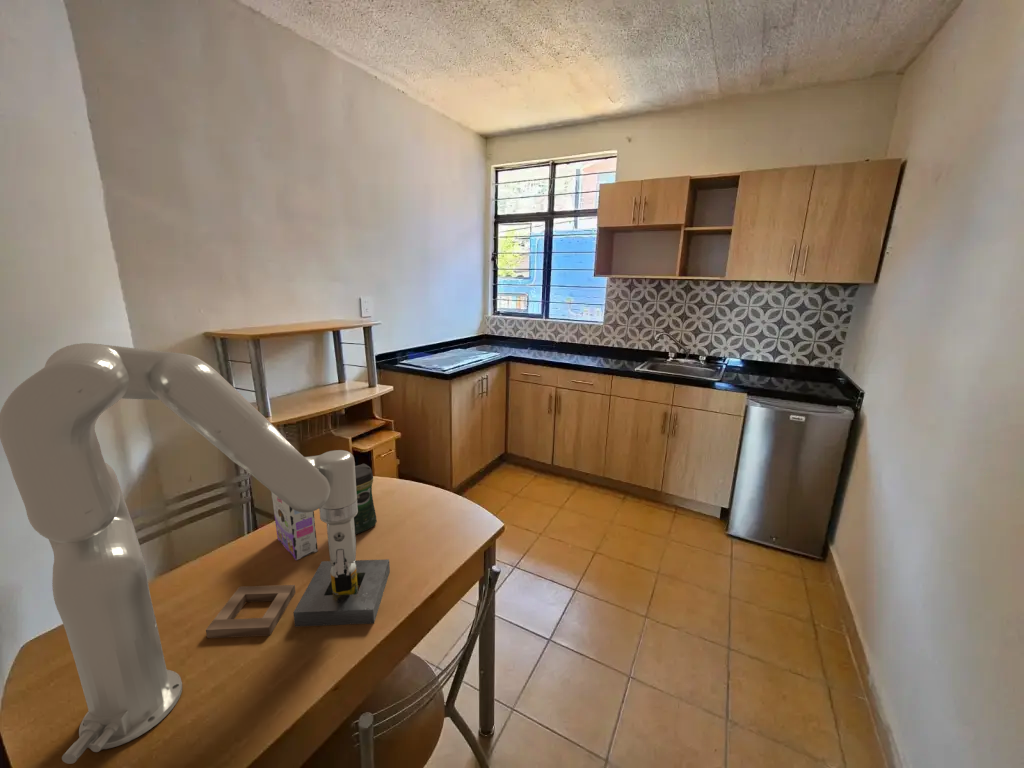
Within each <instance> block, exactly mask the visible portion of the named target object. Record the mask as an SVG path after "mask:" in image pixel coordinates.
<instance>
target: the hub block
mask: <svg viewBox="0 0 1024 768" xmlns="http://www.w3.org/2000/svg"><path fill="white" fill-rule="evenodd" d="M355 564H356V570H357V584H358V592H357V594H353V595H333V593H332V583H331V573H330V571H331V568H332V565H331V562H330V560H329V561H328V560H324V561H321V562H320V564H319V566H318V568H316V571H315V573H314V575H313V576H312V578H311V580H310V581H309V584H308V585H307V587H306V589H305V590H304V593H303V595H302V596H301V597H300V600H299V601H298V603H297V605H296V606H295V609H294V610H293V613H292V614H293V619H294V620H293V622H294V627H296V628H297V627H317V626H318V627H319V626H321V627H322V626H344V625H345V626H346V625H362V624H363V625H365V624H367V625H369V624H375V622H376V618H377V616H378V612H379V609H380V605H381V603H382V599H383V596H384V593H385V590H386V589H385V588H386V586H387V582H388V579H389V575H390V572H391V570H390V566H391V565H390V559H389V558H388V559H361V560H357V559H356V560H355ZM383 592H384V593H383Z"/></svg>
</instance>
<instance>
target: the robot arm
mask: <svg viewBox="0 0 1024 768" xmlns="http://www.w3.org/2000/svg"><path fill="white" fill-rule="evenodd" d="M121 399H122V400H123V399H125V400H126V399H127V400H129V399H130V400H150V401H151V400H152V401H153V400H154V401H156V400H157V401H161V402H162V404H164V406H165V407H166V408H168V409H169V410H170V411H172V413H174V414H175V415H177V417H179V418H180V419H181V420H182V421H183V422H185V423H186V424H187V425H189V426H190V427H191V428H192V429H194V430H195V432H197V433H198V434H200V435H201V436H202V437H204V439H206V440H207V441H208V442H209V443H210V444H211V445H213V446H215V448H217V449H218V450H219V451H220V452H221V453H222V454H224V455H225V456H226V457H227V458H228V459H229V460H231V461H232V463H234V464H236V465H238V466H239V467H240V468H241V469H243V470H244V471H246V472H247V473H248V474H250V475H251V476H252V477H253V478H255V479H256V480H257V481H258V482H260V483H261V484H262V485H263V486H264V487H265V488H267V489H268V490H269V491H270V492H271V491H272V492H273V493H274V494H275V495H276V496H278V497H279V498H280V499H281V500H282V501H284V502H285V503H286V504H287V505H288V506H290V507H291V508H292V509H294V510H295V511H298V512H303V513H306V512H313V511H314V512H315V511H317V510H318V511H319V518H320V520H321V521H322V522H324V523H325V524H326V530H327V531H326V532H327V545H328V553H329V561H330V562H331V565H332V566H333V567H334V565H335V587H336V592H342V591H347V590H351V589H352V583H351V572H349V563H354V562H355V560H357V559H356V556H357V540H356V539H357V537H356V534H355V525H354V517H355V516H356V515H357V513H358V506H357V492H356V476H355V466H356V462H355V457H354V455H353V454H352V453H351V452H350V451H348V450H343V449H338V450H336V449H334V450H329V451H326V452H324V453H322V454H319V455H310V456H304V455H303V454H301V453H300V452H299V451H298V450H297V448H295V447H294V445H292V444H291V443H290V442H289V441H288V440H287V438H285V437H284V435H283V434H281V433H280V430H278V429H277V428H276V427H275V426H274V425H273V423H272V422H270V421H269V420H268V419H267V418H266V417H265V416H264V415H263V414H262V413H261V412H260V411H259V410H258V409H257V408H256V407H255V406H254V405H252V404H251V402H250V401H249V400H248V399H246V398H245V397H244V396H243V395H242V394H241V393H240V392H239V391H238V390H237V389H236V388H235V387H234V386H232V384H231V383H229V381H228V380H226V379H225V378H224V377H223V376H222V375H221V374H220V373H219V372H218V371H217V370H216V369H214V368H213V367H212V366H211V364H208V363H207V362H205V361H204V360H202V359H201V358H199V357H197V356H194V355H192V354H188V353H182V352H181V353H180V352H172V351H161V350H152V349H144V348H143V349H142V348H136V347H135V348H134V347H128V346H127V347H126V346H118V345H117V346H116V345H109V344H101V343H88V342H87V343H86V342H85V343H83V342H82V343H75V344H70V345H66V346H64V347H61V348H60V349H58V350H56V351H55V352H53V353H52V354H51V355H50V356H49V357H48V359H47V360H46V361H45V364H44V367H43V368H41V369H40V370H37V372H35V373H33V374H32V375H31V376H29V377H28V378H26V379H25V380H24V381H22V383H20V384H19V385H18V386H17V387H16V388H14V390H13V391H12V392H11V393H10V394H9V396H8V397H7V398H6V400H5V401H4V403H3V406H2V407H1V410H0V442H1V446H2V448H3V452H4V454H5V456H6V459H7V461H8V464H9V467H10V470H11V474H12V476H13V479H14V483H15V485H16V486H17V490H18V491H19V495H20V496H21V500H22V502H23V504H24V508H25V513H26V516H27V519H28V522H29V523H30V525H31V527H32V528H33V529H34V531H36V532H37V533H38V534H39V535H40V536H42V537H43V538H46V539H48V541H49V544H50V546H51V549H52V552H53V564H52V580H51V581H52V582H51V583H52V584H51V585H52V596H53V600H54V603H55V607H56V611H57V612H58V615H59V617H60V619H61V621H62V625H63V627H64V630H65V634H66V637H67V639H68V644H69V646H70V647H69V648H70V650H71V653H72V657H73V661H74V662H75V667H76V670H77V673H78V678H79V681H80V684H81V688H82V690H83V695H84V699H85V702H86V706H87V710H88V711H87V712H86V713H85V715H84V717H83V718H82V720H81V722H80V725H79V729H78V736H79V738H78V739H76V741H74V742H73V744H72V745H70V747H69V748H67V750H66V752H64V753H63V755H62V756H61V760H62V762H63V763H65V764H67V765H69V764H71V765H72V764H74V763H76V762H77V761H78V759H79V758H80V757H81V756H82V755H83V754H84V753H85V751H86V750H87V749H90V750H91V751H92V752H94V753H99V752H100V751H102V750H108V749H112V748H115V747H119V746H121V745H124V744H126V743H130V742H131V741H133V740H135V739H137V738H138V737H140V736H143V734H144V735H145V733H147V732H149V730H151V729H152V728H153V727H155V726H157V725H158V724H159V723H160V722H161V721H162V720H163V719H165V717H166V716H168V714H169V713H170V712H171V711H172V710H173V709H174V707H175V706H176V704H177V703H178V701H179V699H180V697H181V695H182V692H183V682H182V678H181V676H180V674H179V673H177V672H176V671H173V670H170V669H167V665H166V661H165V656H164V651H163V647H162V643H161V637H160V633H159V628H158V624H157V618H156V614H155V611H154V607H153V602H152V601H153V600H152V597H151V593H150V592H151V591H150V587H149V580H148V575H147V574H148V573H147V567H146V564H145V563H146V562H145V559H144V555H143V553H142V549H141V545H140V543H139V539H138V536H137V531H136V529H135V526H134V523H133V521H132V517H131V515H130V511H129V509H128V506H127V503H126V499H125V497H124V494H123V491H122V489H121V486H120V482H119V479H118V477H117V474H116V471H115V470H114V469H113V467H112V466H111V465H109V464H108V463H107V462H106V461H105V459H104V457H103V453H102V450H101V446H100V441H99V439H98V436H97V434H96V433H97V432H96V429H95V428H96V423H97V420H98V418H100V416H101V415H102V414H103V413H104V412H105V411H107V410H108V409H110V408H111V407H112V406H114V405H115V404H117V403H118V402H119V401H120V400H121ZM344 558H346V560H344ZM345 564H346V569H344V565H345Z"/></svg>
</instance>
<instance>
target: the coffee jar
mask: <svg viewBox="0 0 1024 768" xmlns="http://www.w3.org/2000/svg"><path fill="white" fill-rule="evenodd" d="M355 476H356V492H357V506H358V513H357V515H356V516H355V517H354V525H355V535H357V534H360V533H364V532H365V531H368V530H370V529H371V528H373V527H374V526H376V524H377V522H378V521H377V513H376V509H375V503H374V497H373V483H374V475H373V471H372V468H371V467H370V466H369V465H368V464H366V463H362V464H358V465H355Z"/></svg>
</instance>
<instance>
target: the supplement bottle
mask: <svg viewBox="0 0 1024 768" xmlns="http://www.w3.org/2000/svg"><path fill="white" fill-rule="evenodd" d="M344 560H346V558H344ZM344 569H346V564H345V565H344ZM349 572H351V583H352V589H351V590H347V591H342V592H336V587H335V565H334V567H333V566H332V568H331V571H330V573H331V583H332V593H333V594H332V595H353V594H357V593H358V591H359V586H358V584H357V570H356V564H355V562H354V563H349Z"/></svg>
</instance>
